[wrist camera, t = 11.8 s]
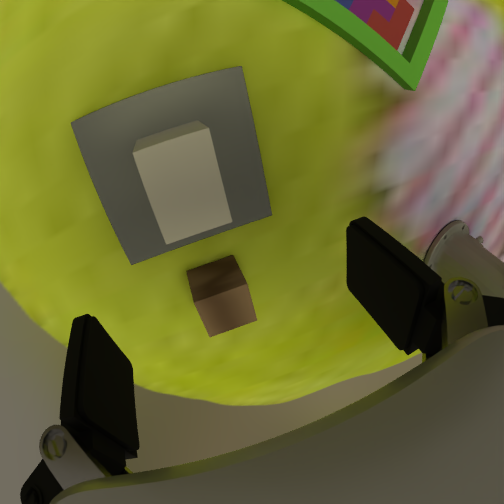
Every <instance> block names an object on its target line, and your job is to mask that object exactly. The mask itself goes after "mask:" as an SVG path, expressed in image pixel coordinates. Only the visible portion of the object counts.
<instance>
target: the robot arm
mask: <svg viewBox="0 0 504 504" xmlns="http://www.w3.org/2000/svg"><path fill="white" fill-rule="evenodd" d="M346 239H347V286H348V289H349V290H350V292H351V293H352V294H353V295H354V296H355V298H356V299H357V300H358V301H359V302H360V303H361V305H362V306H363V307H364V308H365V309H366V311H367V312H368V313H369V314H370V315H371V316H372V318H373V319H374V320H375V321H376V322H377V324H378V325H379V326H380V327H381V329H382V330H383V331H384V332H385V333H386V335H387V336H388V337H389V338H390V340H391V341H392V342H393V343H394V344H395V346H396V347H397V348H398V349H399V350H404V351H405V353H406V354H407V355H409V354H411V353H412V352H414V351H415V350H417V349H420V351H421V352H422V353H423V354H422V363H421V364H420V365H418V366H417V367H415V368H413V369H412V370H410V371H409V372H407V373H405V374H404V375H402V376H401V377H399V378H397V379H396V380H394V381H392V382H391V383H389V384H387V385H385V386H384V387H382V388H380V389H379V390H377V391H375V392H373V393H371V394H369V395H368V396H366V397H364V398H362V399H360V400H359V401H356V402H354V403H353V404H350V405H348V406H346V407H345V408H342V409H340V410H338V411H336V412H334V413H332V414H330V415H328V416H325V417H324V418H321V419H319V420H317V421H314V422H312V423H310V424H307V425H305V426H303V427H300V428H298V429H295V430H293V431H290V432H288V433H285V434H283V435H280V436H277V437H275V438H272V439H269V440H266V441H264V442H261V443H258V444H255V445H252V446H249V447H245V448H242V449H239V450H236V451H232V452H229V453H226V454H222V455H218V456H215V457H211V458H207V459H203V460H199V461H195V462H191V463H187V464H182V465H177V466H172V467H167V468H161V469H156V470H150V471H144V472H138V473H133V472H132V471H131V470H130V469H129V468H127V467H126V461H125V459H132V458H137V450H138V449H139V438H138V429H137V420H136V409H135V397H134V381H133V368H132V364H131V362H130V361H129V359H128V358H127V357H126V356H125V355H124V353H123V352H122V351H121V350H120V348H119V347H118V346H117V345H116V343H115V342H114V341H113V340H112V338H111V337H110V336H109V334H108V333H107V332H106V330H105V329H104V328H103V326H102V325H101V324H100V322H99V321H98V320H97V318H96V317H94V316H92V317H91V316H90V315H89V314H85V315H82V316H80V317H77V318H74V320H73V323H72V328H71V333H70V338H69V344H68V350H67V356H66V362H65V369H64V377H63V385H62V395H61V405H60V420H61V425H52V426H50V427H48V428H47V429H46V430H45V431H44V433H43V434H42V436H41V439H40V444H39V448H40V454H41V456H42V458H43V459H42V460H41V462H40V463H39V464H38V466H37V467H36V469H35V470H34V471H33V473H32V474H31V475H30V476H29V478H28V479H27V481H26V482H25V483H24V485H23V487H22V489H21V493H20V496H21V502H22V504H504V263H503V262H502V261H501V260H500V259H498V258H497V257H496V256H495V255H493V254H492V253H491V252H489V251H488V250H487V249H485V248H484V247H483V245H482V244H481V243H483V238H482V237H481V236H479V237H477V238H476V239H475V238H473V237H472V236H470V235H469V228H468V226H467V225H466V224H465V223H464V222H462V221H459V220H457V221H454V222H452V223H450V224H449V225H447V226H446V227H445V228H444V229H443V230H442V231H441V232H440V233H439V235H438V236H437V237H436V239H435V240H434V242H433V243H432V245H431V247H430V249H429V251H428V253H427V255H426V258H425V261H424V262H423V261H422V260H420V259H419V258H418V257H417V256H416V255H414V254H413V253H412V252H411V251H409V250H408V249H407V248H406V247H405V246H403V245H402V244H401V243H400V242H398V241H397V240H396V239H394V238H393V237H392V236H391V235H389V234H388V233H387V232H385V231H384V230H383V229H382V228H380V227H379V226H378V225H376V224H375V223H374V222H372V221H371V220H370V219H368V218H367V217H361V218H358V219H355V220H353V221H351V222H350V224H349V226H348V227H347V229H346Z"/></svg>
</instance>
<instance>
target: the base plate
mask: <svg viewBox="0 0 504 504" xmlns="http://www.w3.org/2000/svg"><path fill="white" fill-rule="evenodd" d="M197 120H198V121H200V122H201V123H203V124H204V125H205V126H207V127H208V128H209V130H210V134H211V138H212V142H213V146H214V150H215V155H216V159H217V163H218V167H219V171H220V175H221V179H222V183H223V187H224V191H225V194H226V198H227V202H228V206H229V210H230V214H231V218H232V222H231V223H228V224H225V225H222V226H219V227H216V228H213V229H210V230H207V231H204V232H201V233H199V234H196V235H193V236H190V237H187V238H184V239H181V240H178V241H176V242H173V243H170V244H167V245H166V243H165V240H164V238H163V235H162V233H161V230H160V228H159V225H158V222H157V220H156V217H155V215H154V212H153V209H152V207H151V204H150V201H149V199H148V196H147V193H146V190H145V188H144V185H143V182H142V179H141V176H140V174H139V171H138V168H137V165H136V162H135V159H134V156H133V150H134V147H135V144H136V141H137V140H138V139H141V138H144V137H147V136H149V135H152V134H155V133H158V132H161V131H164V130H167V129H170V128H173V127H177V126H180V125H183V124H186V123H190V122H193V121H197ZM71 125H72V128H73V131H74V134H75V137H76V139H77V142H78V145H79V148H80V151H81V153H82V156H83V159H84V161H85V164H86V166H87V169H88V171H89V174H90V176H91V179H92V181H93V184H94V186H95V189H96V191H97V193H98V196H99V198H100V200H101V203H102V205H103V207H104V209H105V212H106V214H107V216H108V218H109V220H110V223H111V225H112V227H113V229H114V231H115V233H116V235H117V237H118V239H119V241H120V244H121V246H122V248H123V250H124V252H125V254H126V256H127V257H128V259H129V261H130V263H131V265H133V264H136V263H138V262H141V261H144V260H146V259H149V258H152V257H154V256H157V255H160V254H163V253H165V252H168V251H171V250H174V249H176V248H179V247H182V246H185V245H187V244H190V243H193V242H196V241H199V240H201V239H204V238H207V237H210V236H213V235H216V234H218V233H221V232H224V231H227V230H230V229H233V228H236V227H239V226H242V225H245V224H247V223H250V222H253V221H256V220H259V219H262V218H265V217H268V216H271V215H272V212H271V207H270V202H269V197H268V191H267V186H266V181H265V176H264V171H263V166H262V160H261V155H260V150H259V146H258V141H257V136H256V131H255V126H254V121H253V116H252V112H251V107H250V102H249V98H248V93H247V88H246V84H245V79H244V75H243V70H242V66H239V67H234V68H229V69H224V70H220V71H215V72H211V73H207V74H203V75H199V76H195V77H191V78H188V79H184V80H181V81H177V82H174V83H170V84H167V85H164V86H161V87H158V88H155V89H152V90H149V91H146V92H143V93H140V94H137V95H134V96H132V97H129V98H126V99H124V100H121V101H119V102H116V103H114V104H111V105H109V106H106V107H104V108H102V109H99V110H97V111H95V112H93V113H90V114H88V115H86V116H84V117H82V118H80V119H77V120H75V121H73V122H71Z"/></svg>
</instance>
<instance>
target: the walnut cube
mask: <svg viewBox="0 0 504 504" xmlns="http://www.w3.org/2000/svg"><path fill="white" fill-rule="evenodd" d="M186 272H187V276H188V280H189V285H190V289H191V293H192V297H193V301H194V304H195V306H196V308H197V311H198V313H199V315H200V317H201V319H202V321H203V324H204V326H205V328H206V330H207V332H208V334H209V336H210V337H212V336H215V335H218V334H220V333H223V332H226V331H229V330H232V329H234V328H237V327H240V326H243V325H245V324H248V323H251V322H254V321H256V320H257V318H256V314H255V310H254V307H253V303H252V299H251V296H250V292H249V288H248V284H247V282H246V280H245V278H244V276H243V274H242V272H241V270H240V268H239V266H238V264H237V262H236V260H235V258H234V256H233V255H231V256H228V257H225V258H222V259H219V260H217V261H214V262H211V263H208V264H205V265H202V266H199V267H197V268H194V269H191V270H188V271H186Z"/></svg>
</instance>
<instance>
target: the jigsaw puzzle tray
mask: <svg viewBox="0 0 504 504" xmlns="http://www.w3.org/2000/svg"><path fill="white" fill-rule="evenodd" d="M283 1H285V2H286V3H288V4H290V5H292V6H294V7H295V8H297V9H299V10H300V11H302V12H304V13H305V14H307V15H309V16H310V17H312V18H314V19H315V20H317V21H318V22H320V23H321V24H323V25H324V26H326V27H327V28H329V29H330V30H332V31H333V32H335V33H336V34H338V35H339V36H341V37H342V38H343V39H345V40H346V41H347V42H349V43H350V44H351V45H353V46H354V47H355V48H357V49H358V50H359V51H361V52H362V53H363V54H364V55H366V56H367V57H368V58H369V59H371V60H372V61H373V62H374V63H376V64H377V65H378V66H379V67H380V68H381V69H383V70H384V71H385V72H386V73H387V74H388V75H389V76H391V77H392V78H393V79H394V80H395V81H396V82H397V83H398V84H399V85H400V86H401V87H403V88H404V89H406V90H412V91H415V90H416V87H417V85H418V83H419V80H420V78H421V75H422V73H423V70H424V68H425V65H426V63H427V60H428V58H429V55H430V52H431V50H432V47H433V44H434V42H435V39H436V36H437V33H438V31H439V28H440V25H441V22H442V19H443V16H444V13H445V10H446V7H447V4H448V0H424V2H423V4H422V7H421V10H420V12H419V15H418V17H417V20H416V22H415V25H414V27H413V30H412V32H411V35H410V37H409V40H408V42H407V45H406V47H405V49H404V52H403V54H402V55H401V54H400V53H399V52H398V51H397V49H398V47H399V45H400V42H401V40H402V38H403V35H404V33H405V31H406V28H407V26H408V23H409V21H410V18H411V16H412V14H413V11H414V8H413V7H412V6H411V5H410V4H409V3H408V2H407V1H406V0H283Z"/></svg>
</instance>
